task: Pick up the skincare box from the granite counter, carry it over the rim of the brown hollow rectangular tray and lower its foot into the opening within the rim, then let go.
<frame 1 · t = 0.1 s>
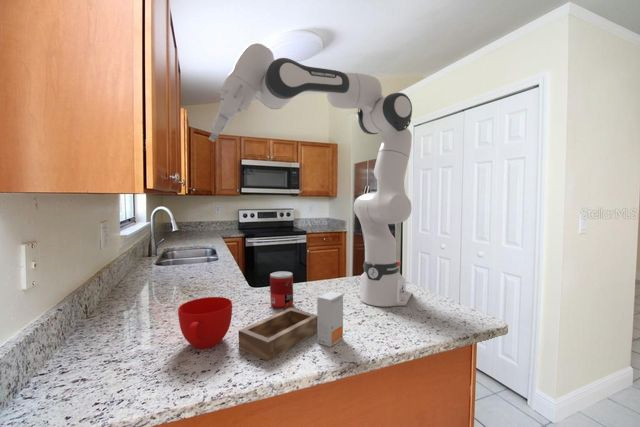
hand: (212, 136, 82), 54 cm above the worktop, tool tilted 30°, fingers open, 8 cm apart
ceramic cup: (204, 347, 75), on the worktop
skincare box: (330, 341, 78), on the worktop
canned food: (281, 305, 105), on the worktop
brown hollow rectangular tray: (281, 339, 79), on the worktop
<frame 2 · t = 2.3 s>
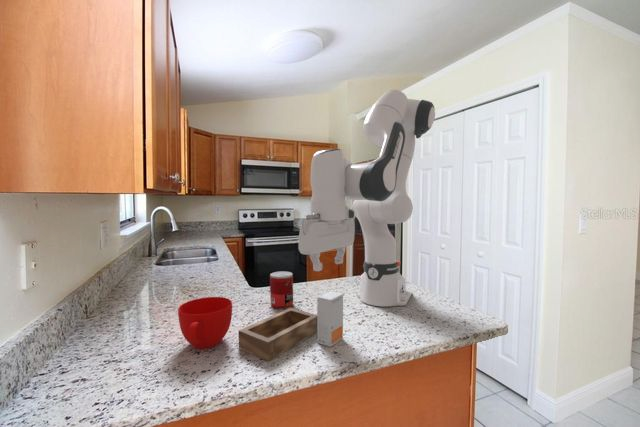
hand: (328, 267, 77), 19 cm above the worktop, tool pointing down, fingers open, 8 cm apart
nothing on the worktop moved.
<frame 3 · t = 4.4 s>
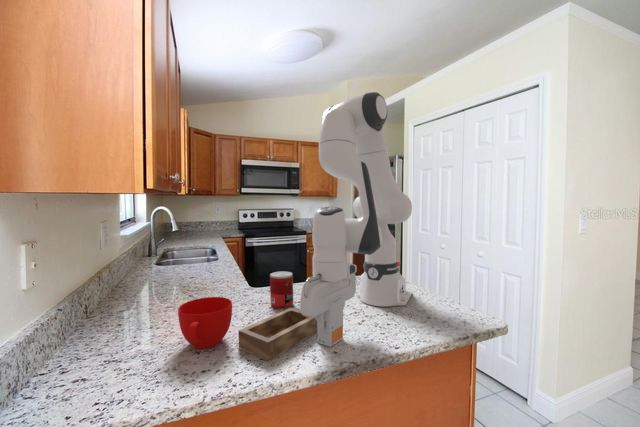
hand: (330, 323, 78), 5 cm above the worktop, tool pointing down, fingers closed on skincare box, 6 cm apart
skincare box: (330, 341, 78), on the worktop, touching gripper
everything else where it was.
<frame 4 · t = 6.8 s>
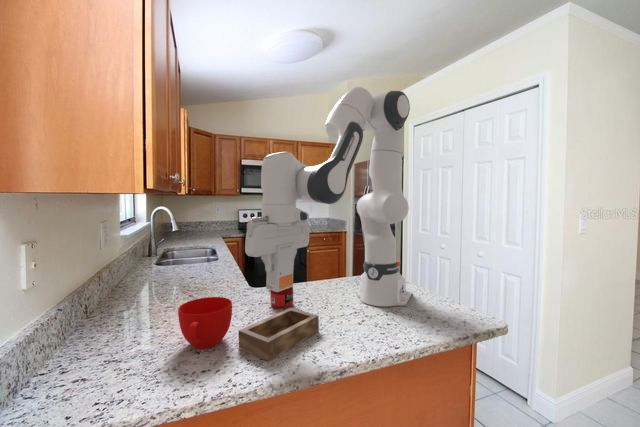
hand: (280, 268, 78), 19 cm above the worktop, tool pointing down, fingers closed on skincare box, 6 cm apart
skincare box: (280, 288, 78), point 13 cm above the worktop, touching gripper
everything else where it was.
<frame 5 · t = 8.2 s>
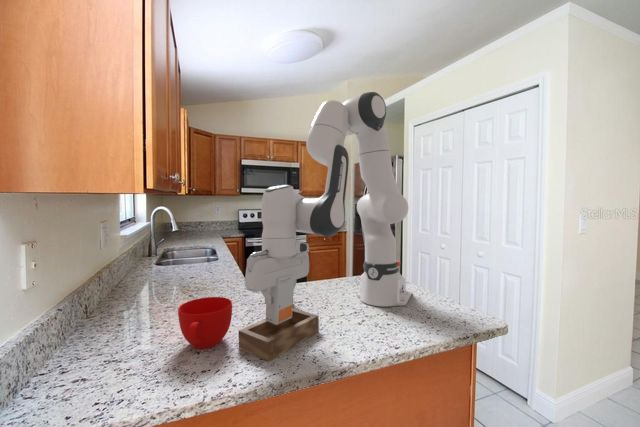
hand: (279, 300, 78), 10 cm above the worktop, tool pointing down, fingers closed on skincare box, 6 cm apart
skincare box: (279, 320, 79), point 5 cm above the worktop, touching gripper
everything else where it was.
when the fingers open (7 cm above the worktop, at t = 9.5 s): skincare box stays where it is, resting on brown hollow rectangular tray.
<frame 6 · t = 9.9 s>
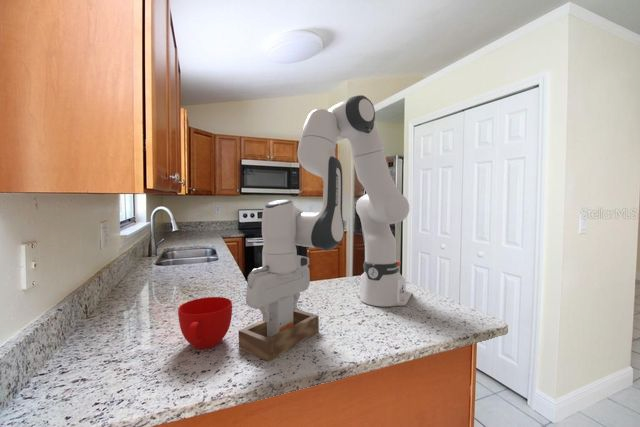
hand: (280, 314, 78), 7 cm above the worktop, tool pointing down, fingers open, 8 cm apart
skincare box: (280, 337, 79), resting on brown hollow rectangular tray
everything else where it was.
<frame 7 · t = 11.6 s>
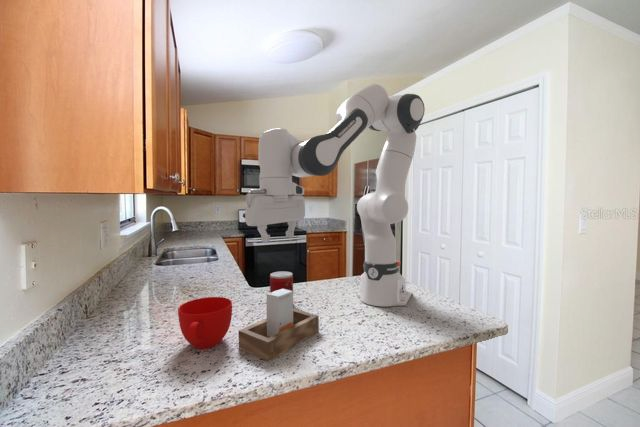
hand: (278, 239, 83), 26 cm above the worktop, tool pointing down, fingers open, 8 cm apart
nothing on the worktop moved.
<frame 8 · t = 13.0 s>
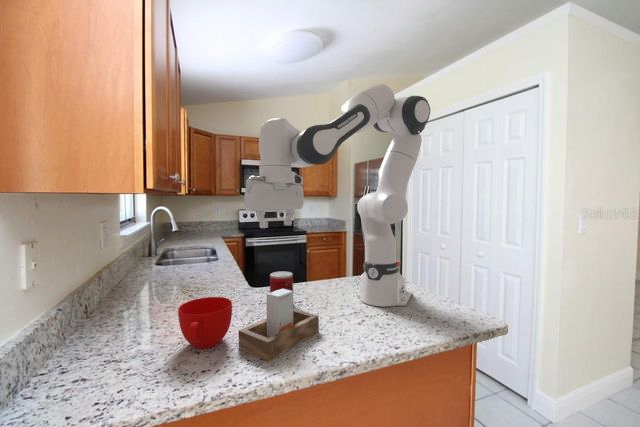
hand: (276, 226, 85), 29 cm above the worktop, tool pointing down, fingers open, 8 cm apart
nothing on the worktop moved.
at the end: skincare box inside the target area on the brown hollow rectangular tray (0.4 cm from its centre), point 0.3 cm above the brown hollow rectangular tray's base; skincare box tilted 0°; the gripper is holding nothing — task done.
